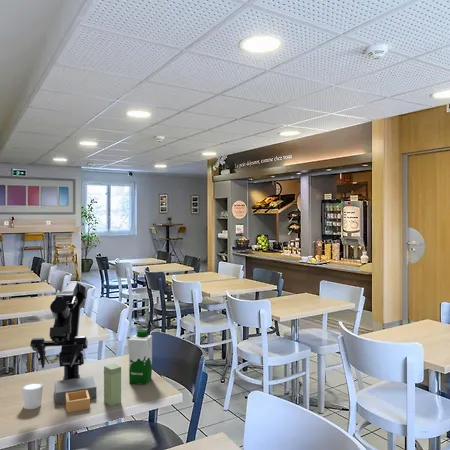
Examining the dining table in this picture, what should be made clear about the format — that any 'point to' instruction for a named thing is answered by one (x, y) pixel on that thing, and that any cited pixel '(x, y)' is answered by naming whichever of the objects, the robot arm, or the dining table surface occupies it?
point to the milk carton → (140, 357)
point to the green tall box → (112, 384)
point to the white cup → (32, 395)
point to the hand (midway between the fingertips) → (56, 367)
